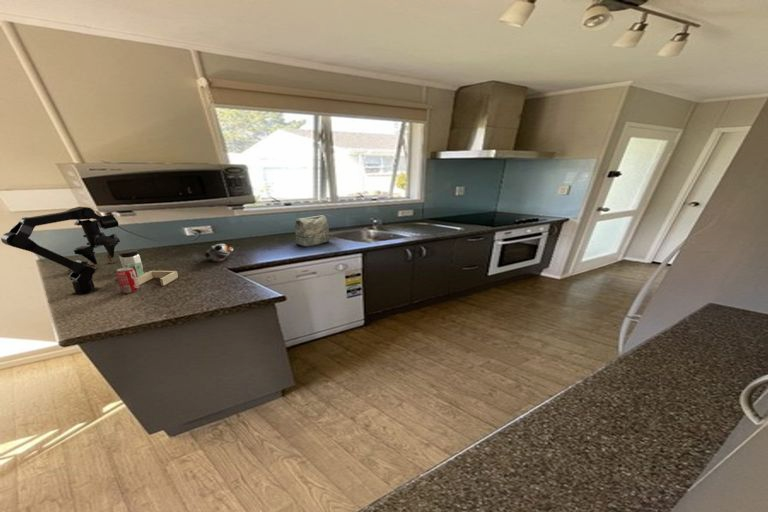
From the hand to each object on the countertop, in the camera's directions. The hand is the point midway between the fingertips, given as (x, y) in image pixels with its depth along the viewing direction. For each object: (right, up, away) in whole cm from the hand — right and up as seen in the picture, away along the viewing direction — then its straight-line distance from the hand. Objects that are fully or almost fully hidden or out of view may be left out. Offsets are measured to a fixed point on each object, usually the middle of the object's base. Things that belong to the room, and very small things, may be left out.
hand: (104, 260), depth 148 cm
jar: (-5, -6, +23) cm, 24 cm away
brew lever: (+7, -8, +6) cm, 12 cm away
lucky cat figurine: (+35, 0, +44) cm, 56 cm away
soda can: (+17, -16, -4) cm, 23 cm away
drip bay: (+21, -11, +8) cm, 26 cm away
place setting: (-30, -6, +23) cm, 38 cm away
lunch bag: (+87, +13, +86) cm, 123 cm away
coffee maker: (+7, -10, +11) cm, 17 cm away
